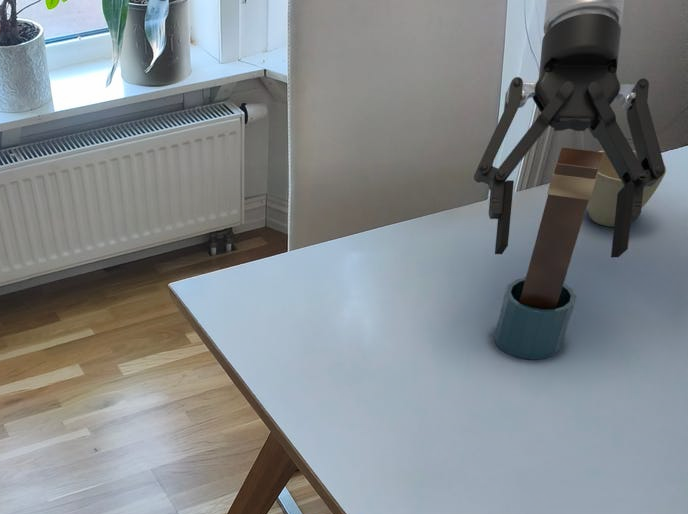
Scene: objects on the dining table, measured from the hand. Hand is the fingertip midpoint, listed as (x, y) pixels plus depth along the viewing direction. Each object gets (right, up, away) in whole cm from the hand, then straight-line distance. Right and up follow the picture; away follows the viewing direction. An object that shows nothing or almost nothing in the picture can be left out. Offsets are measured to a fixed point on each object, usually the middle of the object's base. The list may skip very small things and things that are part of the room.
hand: (559, 251), depth 93 cm
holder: (+1, -6, +11) cm, 13 cm away
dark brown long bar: (+1, -5, +11) cm, 12 cm away
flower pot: (+19, +18, +29) cm, 39 cm away
